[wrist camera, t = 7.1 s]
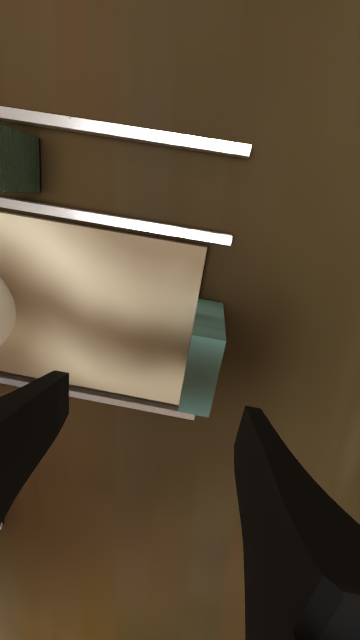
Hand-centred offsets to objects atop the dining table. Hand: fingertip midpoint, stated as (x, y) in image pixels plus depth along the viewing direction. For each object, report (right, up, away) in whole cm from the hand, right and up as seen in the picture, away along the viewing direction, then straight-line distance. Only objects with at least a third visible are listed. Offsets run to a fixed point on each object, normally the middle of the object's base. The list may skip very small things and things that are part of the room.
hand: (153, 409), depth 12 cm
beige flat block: (-8, +5, +8) cm, 12 cm away
